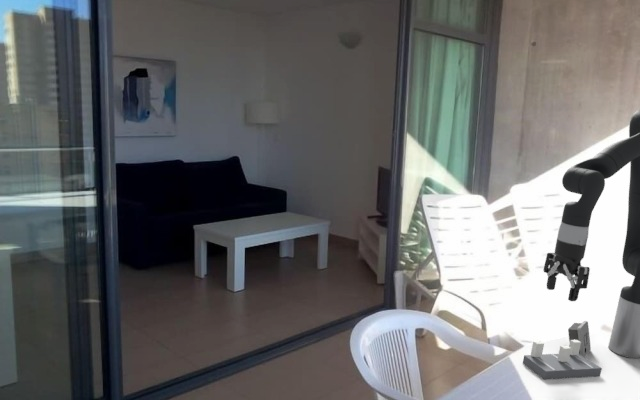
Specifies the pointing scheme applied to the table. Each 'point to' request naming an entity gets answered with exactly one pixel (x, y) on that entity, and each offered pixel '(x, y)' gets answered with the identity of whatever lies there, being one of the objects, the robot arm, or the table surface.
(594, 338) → the table surface
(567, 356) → the knob
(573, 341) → the inner knob
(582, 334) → the electrical switch
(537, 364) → the block
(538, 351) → the outer knob
